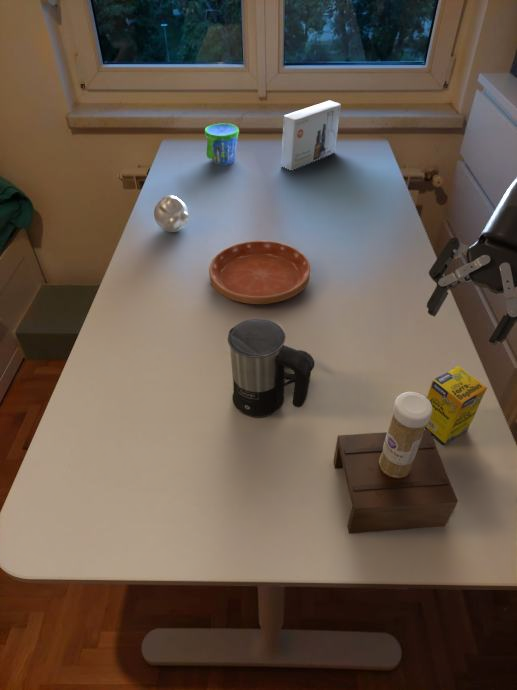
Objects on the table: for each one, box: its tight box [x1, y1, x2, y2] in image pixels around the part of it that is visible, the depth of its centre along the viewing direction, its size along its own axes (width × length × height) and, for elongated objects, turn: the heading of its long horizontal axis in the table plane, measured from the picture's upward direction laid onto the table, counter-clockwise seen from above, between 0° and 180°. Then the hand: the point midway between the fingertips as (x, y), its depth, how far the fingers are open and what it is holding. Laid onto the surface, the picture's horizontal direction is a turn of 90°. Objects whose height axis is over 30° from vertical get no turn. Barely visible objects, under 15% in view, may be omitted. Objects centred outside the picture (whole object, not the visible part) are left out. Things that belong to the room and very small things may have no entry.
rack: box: [333, 429, 459, 535], centre depth 73 cm, size 14×12×7 cm
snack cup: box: [204, 122, 240, 165], centre depth 161 cm, size 16×10×10 cm
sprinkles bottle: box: [379, 391, 432, 478], centre depth 66 cm, size 5×5×14 cm
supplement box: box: [424, 365, 488, 447], centre depth 81 cm, size 6×6×11 cm
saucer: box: [208, 240, 311, 305], centre depth 115 cm, size 23×23×4 cm
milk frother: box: [227, 318, 315, 418], centre depth 87 cm, size 14×16×15 cm
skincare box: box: [280, 100, 342, 171], centre depth 159 cm, size 21×5×16 cm, turn 132°
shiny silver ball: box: [153, 195, 190, 233], centre depth 129 cm, size 9×10×10 cm
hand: (460, 328), depth 66 cm, fingers open, 8 cm apart
